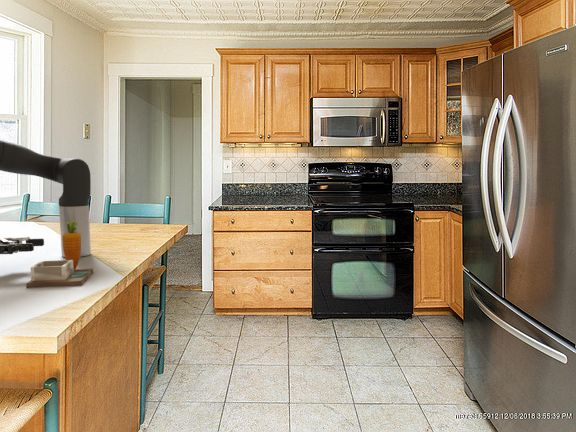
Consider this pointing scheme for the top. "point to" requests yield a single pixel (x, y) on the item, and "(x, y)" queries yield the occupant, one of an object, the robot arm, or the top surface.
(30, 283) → the socket board
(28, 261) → the top surface
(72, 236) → the carrot
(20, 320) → the top surface
